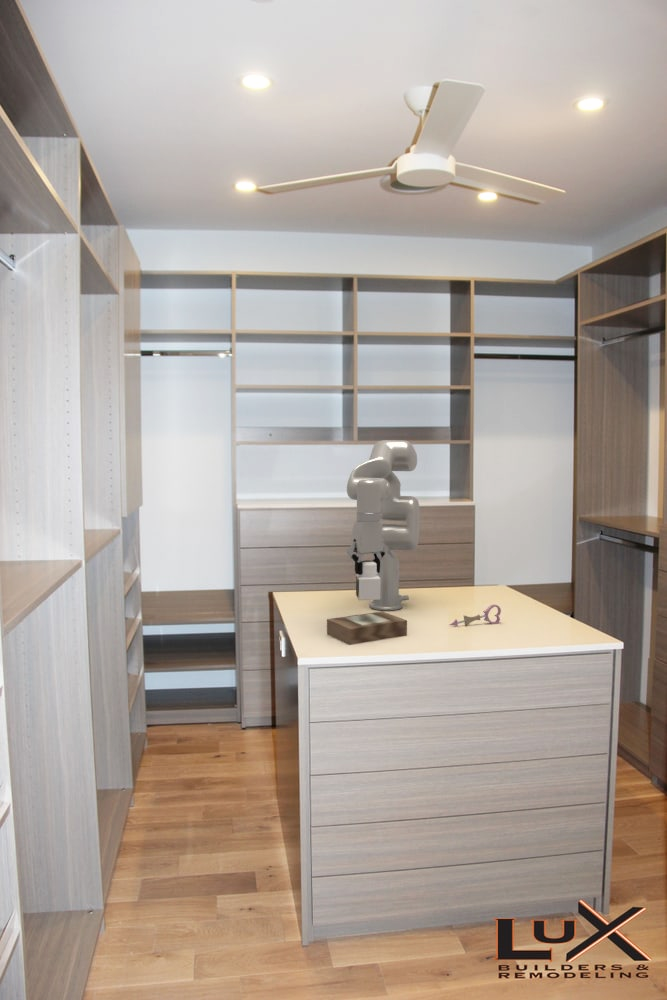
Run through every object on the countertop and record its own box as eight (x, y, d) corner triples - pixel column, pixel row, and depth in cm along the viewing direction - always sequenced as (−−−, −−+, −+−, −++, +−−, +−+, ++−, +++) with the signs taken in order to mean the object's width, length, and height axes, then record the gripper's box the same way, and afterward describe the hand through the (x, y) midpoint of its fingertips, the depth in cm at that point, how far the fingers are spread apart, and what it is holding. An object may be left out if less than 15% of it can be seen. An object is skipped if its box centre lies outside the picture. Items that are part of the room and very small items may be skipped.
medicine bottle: (355, 595, 244) (355, 559, 243) (377, 595, 244) (377, 559, 243) (358, 600, 237) (358, 563, 236) (380, 600, 237) (380, 563, 236)
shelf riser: (382, 625, 254) (382, 610, 253) (406, 635, 242) (407, 619, 241) (326, 634, 242) (326, 618, 242) (349, 644, 230) (350, 628, 230)
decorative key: (449, 635, 254) (500, 621, 260) (451, 635, 253) (502, 622, 258) (446, 615, 253) (498, 603, 259) (448, 616, 252) (500, 603, 258)
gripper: (383, 515, 246) (382, 569, 248) (339, 518, 237) (338, 573, 239) (396, 517, 240) (396, 572, 241) (351, 520, 231) (351, 577, 232)
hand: (367, 572), depth 240 cm, fingers closed on medicine bottle, 6 cm apart
